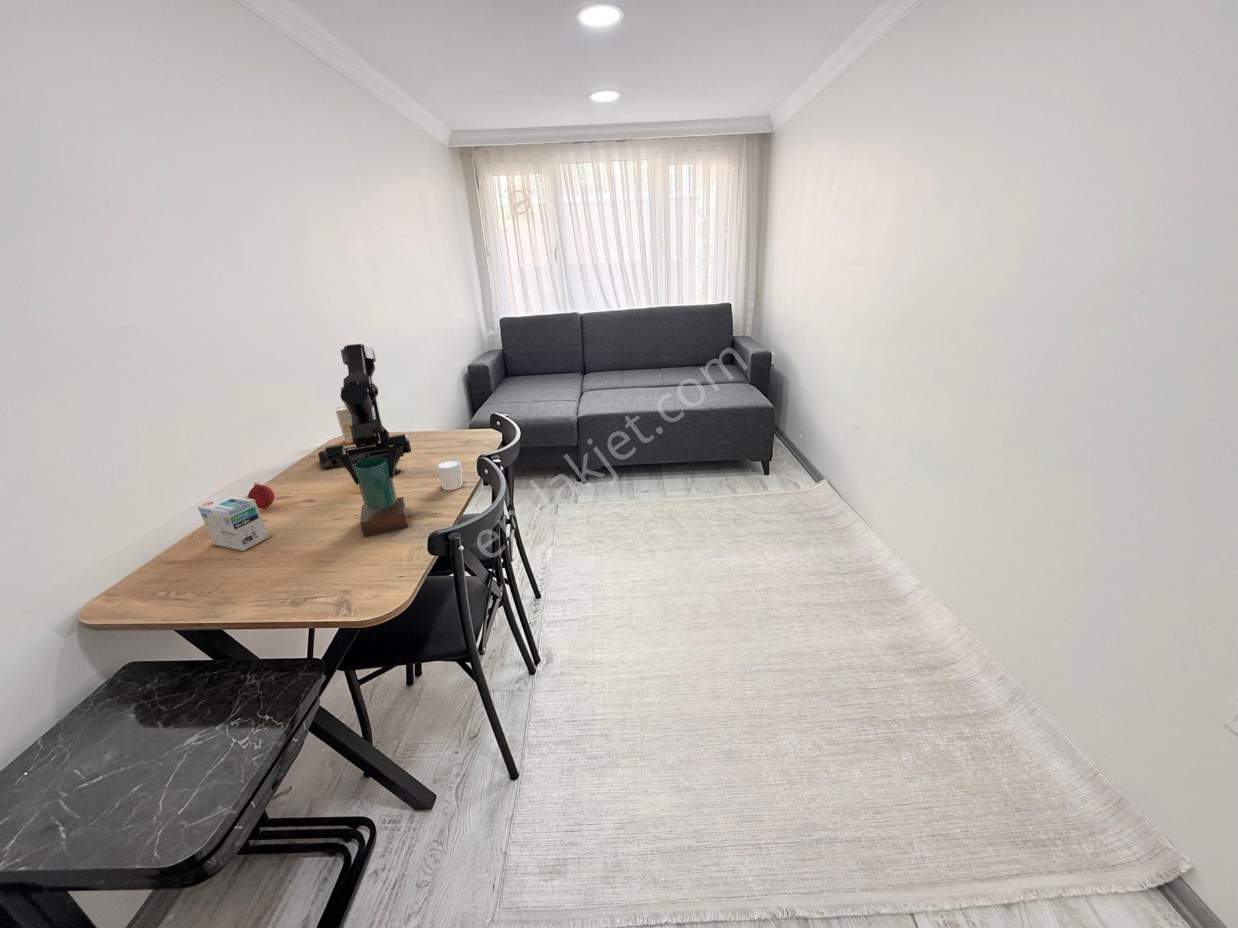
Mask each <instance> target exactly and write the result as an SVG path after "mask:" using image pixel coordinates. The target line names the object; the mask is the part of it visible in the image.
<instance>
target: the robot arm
mask: <svg viewBox="0 0 1238 928" xmlns="http://www.w3.org/2000/svg"><path fill="white" fill-rule="evenodd" d="M340 355H341V360H342V363H343V364H344V365H345V366H347V374H348V375H347V376H346V377H344V378H343V381H342V382H343V384H342V387H341V388H340V399H341V401H342V402H343V404H344V406H346V408H347V410H348V412H349V413H350V414H351V421H352V426H350V430H351V434H352V440H353V443H352V444H353V445H354V447H355V448H350V447H348V448H349V449H345V448H346V447H344V445H343V444H335V445H329V446H325V448H324V449H323V451H324V455H325V458H326V460H327V461H328V463H329V464H330V465H332V466H335V465H339V466H338V467H340V468H345V469H346V470H347V472H348V473H349V475H350V476H351V478H352V480H353V482H354V484H355V486H359V484H358V480H357V477H356V473H355V470H354V466H353V465H354V463H352V461H351V459H350V456H356V455H361V454H365V457H366V458H369V457H376V456H379V457H385V458H387V460H388V464H389V468H390V474H391V478H392V479H394V476H396V475H398V474H401V472H402V470H401V469H398V468H397V465H398V463H399V460H400V458H402V457H404V456H405V454H408V453H411V452H412V447H411V443H410V439H409V436H408V435H407V434H406V433H404V434H397V435H391V436H390V431H388V430H387V428H385V426H383V422H382V418H381V415H380V410H379V405H378V401H377V397H378V395H379V388H378V386H377V385H376V384H375V383H374V382H373V378H372V377H373V375H374V372H375V370H376V366H375V362H377V359H376V353H375V350H374V348H373V347H372V346H368V345H364V344H362V343H355V344H347V345H345V346H343V348H342V349H341V350H340Z"/></svg>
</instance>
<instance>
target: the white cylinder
mask: <svg viewBox="0 0 1238 928" xmlns="http://www.w3.org/2000/svg"><path fill="white" fill-rule="evenodd" d="M435 467H436V471H437V475H438V478H439V481H440V483H441V487H442V490H445V491H454V490H457V489H460V488H461V487H463V485H464V484H463V471H462V462H461V460H458V459H448V460H443V461H440V462H438V463H437V464H435Z"/></svg>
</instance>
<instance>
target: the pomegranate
mask: <svg viewBox="0 0 1238 928" xmlns="http://www.w3.org/2000/svg"><path fill="white" fill-rule="evenodd" d="M247 498H249V499H255V502H256V504H257V507H258V509H262V510H266V509H268V508H269V507H270V506H271V505H272V504H273V503H274V500H275V492H274V491H273V489H272V488H270V487H269V486H267V485H265V484H260V483H259V482H258V481H254V484H253V487H252V488H250V490H249V492H248V494H247Z"/></svg>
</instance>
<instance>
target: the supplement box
mask: <svg viewBox="0 0 1238 928" xmlns="http://www.w3.org/2000/svg"><path fill="white" fill-rule="evenodd" d="M334 409H335V414H336V417H337V420H338V423H339V428H340V431H341V434H342V437H343V440H344V442H345V445H349V444H353V440H352V434H351V430H350V426H352V421H351V414H350V413H349V412H348V410H347V408H346V406H345V405H344V406H339V407H338V406H337V407H335V408H334Z"/></svg>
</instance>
